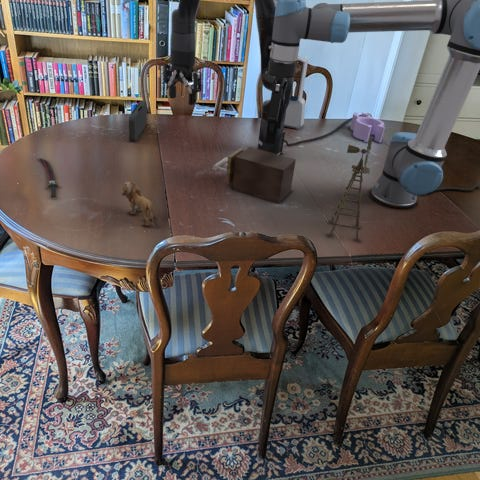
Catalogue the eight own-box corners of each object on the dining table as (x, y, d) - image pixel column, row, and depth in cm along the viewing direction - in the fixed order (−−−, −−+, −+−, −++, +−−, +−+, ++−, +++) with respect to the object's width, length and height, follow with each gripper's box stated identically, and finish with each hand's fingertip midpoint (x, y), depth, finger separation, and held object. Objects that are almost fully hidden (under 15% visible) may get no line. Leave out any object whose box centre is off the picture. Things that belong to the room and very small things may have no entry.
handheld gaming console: (140, 122, 202) (140, 99, 196) (147, 123, 202) (146, 100, 196) (128, 141, 182) (127, 116, 177) (135, 142, 182) (134, 117, 177)
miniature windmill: (357, 241, 135) (384, 143, 119) (328, 236, 136) (351, 138, 120) (357, 226, 143) (382, 132, 127) (330, 221, 144) (351, 127, 128)
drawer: (211, 179, 159) (212, 152, 154) (224, 169, 167) (226, 143, 162) (267, 196, 152) (271, 168, 147) (278, 185, 160) (282, 159, 155)
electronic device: (303, 125, 218) (315, 58, 202) (300, 130, 212) (311, 61, 196) (278, 120, 221) (287, 54, 205) (273, 125, 215) (283, 56, 199)
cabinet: (232, 189, 157) (235, 156, 150) (246, 177, 165) (249, 146, 159) (278, 203, 151) (283, 170, 145) (290, 191, 159) (295, 159, 153)
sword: (61, 197, 141) (61, 193, 140) (50, 198, 139) (50, 194, 139) (49, 160, 164) (48, 156, 163) (39, 160, 163) (39, 157, 162)
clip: (343, 126, 223) (346, 112, 219) (367, 127, 225) (371, 113, 221) (360, 142, 206) (364, 127, 202) (386, 142, 209) (390, 127, 205)
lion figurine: (118, 210, 138) (116, 182, 133) (132, 204, 141) (131, 177, 137) (151, 229, 130) (150, 201, 126) (165, 223, 134) (165, 195, 129)
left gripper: (208, 51, 140) (206, 104, 149) (175, 42, 147) (174, 93, 156) (191, 53, 135) (189, 109, 144) (157, 44, 142) (158, 97, 151)
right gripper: (275, 50, 138) (266, 120, 149) (263, 68, 117) (254, 148, 129) (300, 53, 137) (289, 123, 149) (292, 72, 116) (280, 152, 128)
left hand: (182, 101), depth 150 cm, fingers open, 8 cm apart
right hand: (273, 135), depth 139 cm, fingers open, 13 cm apart
